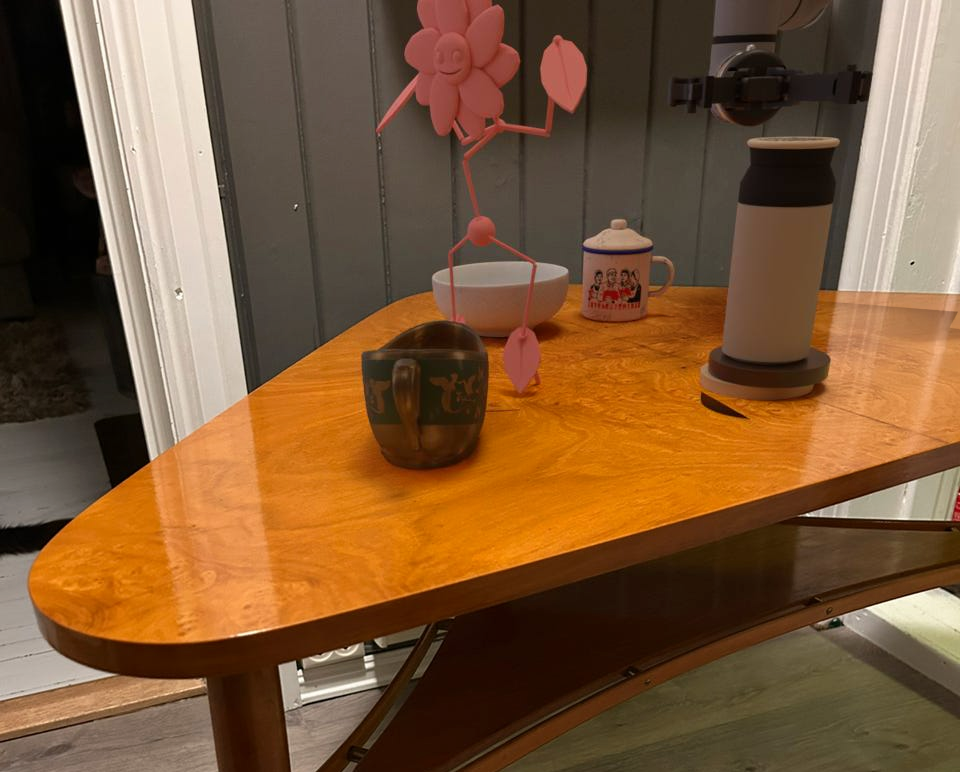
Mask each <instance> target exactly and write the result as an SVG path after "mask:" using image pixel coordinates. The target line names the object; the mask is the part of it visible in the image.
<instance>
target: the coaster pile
mask: <svg viewBox="0 0 960 772" xmlns="http://www.w3.org/2000/svg"><path fill="white" fill-rule="evenodd" d="M831 361H832V360H831V357H830V355H828V354H827V352H824V351H822V350H820V349H817V348H814V347H810V353H809V355H808V356H807V357H805V358H803V359H801V360H799V361H797V362H794V363H789V364H777V365H763V364H753V363H746V362H741V361H737V360H734V359H732V358H731V357H729V356H728V355H726V354H724V353H723V352H722V345H720V346H717V347H715V348H712V349H711V350H710V351H709V355H708V362H706V363H704V364H702V366H701V367H700V371H699V379H698V383H699V385H700V386H701V387H702V388H703V389H705V390H707V391H709V392H711V393H714V394H716V395H721V396H725V397H730V398H736V399H744V400H756V401H757V400H758V401H769V400H770V401H773V400H777V401H778V400H786V399H794V398H799V397H802V396H805V395H808V394H809V393H810V392H812V391H813V390H814V385H817V384H820V383H822V382H824V381H826V380H827V379H828V377H829V372H830V368H831V367H830V366H831ZM700 403H701V404H702V406H704V407H705V408H707V409H708V410H710V411H711V412H714V413H717V414H720V415H724V416H729V417H734V418H738V419H746V420H751V418H749V417H747V416H746V415H744V414H742V413H740V412H739V411H737V410H736V409H733V408H731V407H730V406H729V405H727V404H724V403H723V402H721V401H719V400H717V399H716V398H714V397H712V396H711V395H709V394H707V393H705V392H703V391H700Z"/></svg>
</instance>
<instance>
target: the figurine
mask: <svg viewBox="0 0 960 772" xmlns="http://www.w3.org/2000/svg"><path fill="white" fill-rule="evenodd" d="M416 12H417V16H418V19H419V22H420V23H421V25H422V27H423V28H421V29H420V30H419V31H418V32H417V31H416V33H414V34H413V35H412V36H411V37H410V38H409V41H408V42H407V44H406V46H405V49H404V58H405V62H406V63H407V64H408V65H409V66H411V67H413V68H414V69H415V70H417V71H418V73H417V75H415V77H414V78H413V79H412V80H411V81H410V82H409V83H408V84H407V86H405V88H404V89H403V90H402V92H401V93H400V94H399V95H398V97H397V98H396V99H395V100H394V102H393V104H392V105H391V106H390V107H389V109H388V111H386V114H384V116H383V118H382V120H381V121H380V123H379V125H378V127H377V128H376V130H375V132H376V134H379V133H381V131H382V130H384V129H385V127H387V125H388V124H389V123H390V122H391V121H392V120H393V119H394V118H395V117H396V115H398V113H399V112H400V111H401V110H402V108H403V107H404V106H405V105H406V104H407V102H408V101H409V100H410V98H411V97H412V96H413V95H414V93H415V98H416V101H417V102H418V103H419V105H420V106H429V113H430V118H431V122H432V126H433V129H434V130H435V132H436V134H437V135H438V136H441V137H445V136H446V135H447V134H449V133H450V132H451V131H452V129H453V130H454V132H455V134H456V136H457V137H458V140H459V141H460V142H461V146H462V147H463V146H464V147H465V146H466V145H468V144H470V143H472V142H474V141H478V142H477V143H475V145H474V146H472V147H471V148H470V149H469V150H467V151H466V152H465V153H464V154H463V158H464V159H463V160H462V161H461V165H462V168H463V172H464V177H465V180H466V184H467V186H468V191H469V195H470V200H471V202H472V206H473V210H474V214H475V217H474V218H473V219H471V221H470V222H469V223H468V226H467V234H466V235H465V236H464V237H463V238H462V239H461V240H460V241H459V242H458V243H457V244H456V245H455V246H453V248H452V249H451V250H449V251H448V255H447V257H448V268H449V272H450V286H451V300H452V314H453V317H452V318H451V319H450V320H448V319H447V320H448V321H455V322H458V323H464V324H466V323H465V317H462V315H457V316H456V311H455V296H454V281H453V267H454V266H453V254H454V253H455V252H456V251H457V250H458V249H460V247H461V246H463V245H464V244H465V243H466V242H467V241H468V240H469V241H470V242H471V243H472V244H473V245H474V246H477V247H485V246H486V247H487V246H488V245H490V244H491V243H494V244H496V245H498V246H500V247H501V248H503V249H505V250H507V251H508V252H510V253H512V254H514V255H515V256H517V257H519V258H521V259H522V260H525V262H530V263H532V264H533V268H532V274H531V280H530V286H529V292H528V298H527V304H526V310H525V316H524V322H523V328H521V327H519V328H517V329H516V330H515V331H513V332H512V333H511V334H510V337H508V339H507V342H506V344H505V346H504V348H503V356H502V362H503V367H504V370H505V373H506V375H507V377H508V379H509V380H510V382H511V383H512V385H513V387H514V388H515V389H516V390H517V392H518V393H519V394H520V395H521V394H522V393H523V392H524V391H525V390H526V389H527V387H528V386H529V385H530V383H531V382H532V380H533V379H534V382H535V384H538V385H539V384H540V383H541V378H540V375H539V372H538V370H539V366H540V363H541V360H542V357H541V355H542V354H541V347H540V344H539V341H538V338H537V336H536V334H535V331H533V330H530V329H529V328H527V327H526V326H527V320H528V314H529V308H530V303H531V297H532V291H533V285H534V279H535V273H536V267H537V265H535V263H536V262H537V261H536V260H534V259H532V258H531V257H528V256H527V255H525V254H524V253H521V252H520V251H518V250H516V249H514V248H512V247H511V246H509V245H507V244H505V243H503V242H502V241H500V240H498V239H496V238H495V236H496V226H495V223H494V222H493V221H492V220H491V219H490V217H487V216H484V215H480V211H479V207H478V203H477V198H476V193H475V188H474V184H473V180H472V175H471V171H470V167H469V161H468V160H469V159H470V158H471V157H472V156H474V155H475V154H476V153H477V152H478V151H479V150H480V149H482V147H483V146H485V145H486V144H487V143H488V142H489V141H490V140H491V139H493V137H495V135H496V134H500V133H501V134H502V133H503V132H505V131H508V132H509V131H510V132H514V133H515V132H516V133H522V134H526V135H527V134H528V135H535V136H542V137H547V138H550V137H551V134H550V132H551V131H552V128H553V120H554V119H553V118H554V111H555V109H554V108H555V104H556V105H558V106H559V107H560V108H561V109H563V110H565V111H567V112H568V113H570V114H572V115H573V114H574V113H575V111H576V109H577V108H578V105H579V104H580V101H581V100H582V97H583V95H584V92H585V90H586V88H587V79H588V66H587V63H586V61H585V58H584V54H583V53H582V52H581V51H580V49H579V48H578V47H577V46H576V45H575V43H574V42H573V41H570V40H567V39H564V38H563V37H562V36H561V35H560V34H559V35H558V34H557V35H554V37H553V39H552V41H551V43H550V44H549V45H548V46H547V48H545V50H544V51H543V55H542V58H541V63H540V67H539V69H540V80H541V84H542V86H543V89H544V90H545V92H546V94H547V96H548V101H547V111H546V118H545V119H546V120H545V129H544V128H537V127H533V126H525V125H518V124H512V123H506V122H505V120H503V119H501V118H500V116H501V115H502V114H503V113H504V108H505V101H504V94H503V92H502V91H501V90H500V89H499V88H502V87H503V86H505V85H506V84H507V83H508V82H509V81H511V80H513V78H514V76H515V74H516V73H517V72H518V70H519V68H520V64H521V59H520V54H519V52H518V51H517V50H515V48H513V47H511V46H510V45H507V44H505V43H502V40H503V37H504V32H505V31H504V30H505V19H506V18H505V12H504V9H503V7H501V6H500V5H499V4H496V5H493V0H417V6H416ZM486 119H492V120H493V123H494V124H492V125H490V126H487V127H486ZM457 122H458V123H459V125H460V126H461V127H462V129H463V130H464V133H466V135H468V136H466V137H465V136H464V134H463V132H462V130H461V129H460V127H459V125H458V123H457ZM519 411H521V410H520V408H516V409H515V408H513V409H497V410H493V409H492V410H491V409H490V410H486V412H485V413H504V412H506V413H507V412H519Z"/></svg>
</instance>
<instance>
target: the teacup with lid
mask: <svg viewBox="0 0 960 772" xmlns="http://www.w3.org/2000/svg"><path fill="white" fill-rule="evenodd" d="M627 225H628V223H627V221H626V219H621V218H618V219H617V218H615V219H613V220H611V222H610V228H607V229H603V230H602V231H601V232H599V233H598V234H597V235H595V236H591V237H590V238H587V239H586V240H584V242H583V243H582V244H583V245H582V246H581V249H582V251H583V263H582V264H583V265H582V269H583V270H582V290H581V291H582V292H581V293H582V296H581V314H582V316H583V317H585V318H586V319H590V320H593V321H596V322H597V321H599V322H609V323H615V322H617V323H618V322H619V323H621V322H631V321H637V320H640V319H643V318H645V317H646V315H647V314H648V304H649V298H656V297H660V296H662V295H664V294H665V293H666V292H667V291H669V289H670V287H671V286H672V284H673V281H674V278H675V266H674V264H673V262H672V261H671V260H670V259H669V258H667V257H666V256H660V255H652V251H653V250H654V245H653V244H654V243H653V242H652V239H650V238H648V237H644V236H643V235H640V234H639V233H637V232H636V231H635V230H633V229H632V228H627V227H628V226H627ZM651 263H652V264H653V263H661V264H663V265H665V266H666V267H667V268H668V277H667V279H666V282H665V283H664V285H662V287H660V288H659V289H656V290H650V289H649V288H650V275H651Z"/></svg>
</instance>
